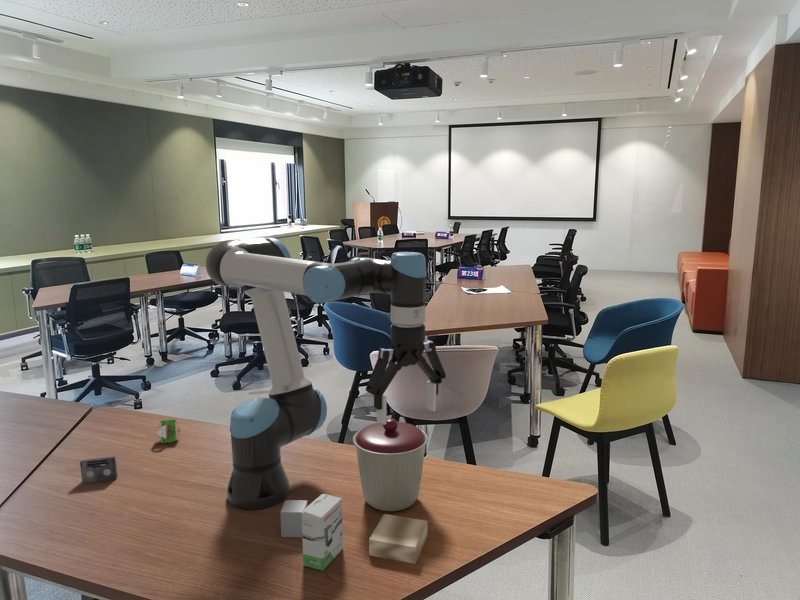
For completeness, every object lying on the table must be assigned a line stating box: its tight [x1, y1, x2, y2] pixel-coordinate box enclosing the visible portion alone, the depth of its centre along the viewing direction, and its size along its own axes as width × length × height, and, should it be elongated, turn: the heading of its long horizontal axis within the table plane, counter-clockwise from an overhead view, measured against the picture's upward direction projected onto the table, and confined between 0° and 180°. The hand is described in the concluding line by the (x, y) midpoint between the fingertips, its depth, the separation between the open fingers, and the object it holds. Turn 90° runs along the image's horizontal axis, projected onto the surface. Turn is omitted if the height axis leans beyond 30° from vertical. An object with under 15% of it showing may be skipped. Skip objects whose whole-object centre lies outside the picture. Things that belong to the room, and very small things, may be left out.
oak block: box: [368, 513, 428, 564], centre depth 121 cm, size 10×10×4 cm
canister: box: [352, 418, 429, 512], centre depth 138 cm, size 18×18×21 cm
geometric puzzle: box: [155, 418, 180, 444], centre depth 174 cm, size 7×7×8 cm
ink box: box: [301, 493, 344, 571], centre depth 117 cm, size 9×5×12 cm, turn 156°
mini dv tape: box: [79, 456, 119, 484], centre depth 150 cm, size 8×2×6 cm, turn 105°
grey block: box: [279, 499, 309, 538], centre depth 127 cm, size 5×5×6 cm
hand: (406, 415), depth 128 cm, fingers open, 13 cm apart
